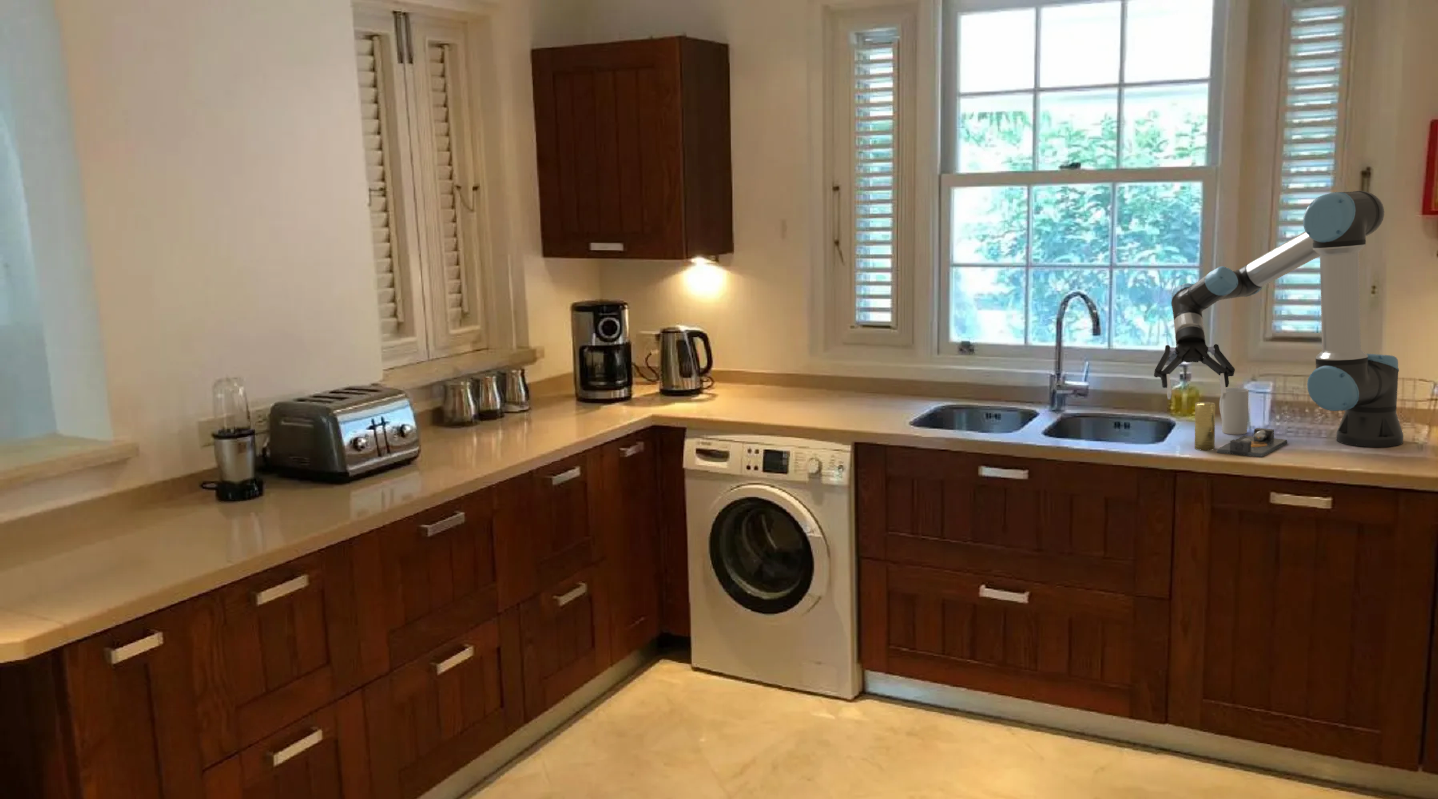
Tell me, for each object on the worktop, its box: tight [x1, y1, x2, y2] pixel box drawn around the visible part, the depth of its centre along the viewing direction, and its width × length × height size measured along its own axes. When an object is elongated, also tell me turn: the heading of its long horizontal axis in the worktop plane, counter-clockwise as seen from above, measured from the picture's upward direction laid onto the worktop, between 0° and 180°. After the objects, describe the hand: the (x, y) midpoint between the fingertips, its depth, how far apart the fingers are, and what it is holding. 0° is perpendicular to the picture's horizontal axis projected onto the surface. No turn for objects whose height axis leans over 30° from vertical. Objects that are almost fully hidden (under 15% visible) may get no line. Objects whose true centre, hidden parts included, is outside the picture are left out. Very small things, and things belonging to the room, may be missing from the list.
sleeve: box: [1194, 401, 1216, 451], centre depth 302 cm, size 5×5×12 cm
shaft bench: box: [1216, 427, 1288, 458], centre depth 301 cm, size 19×11×3 cm, turn 136°
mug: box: [1218, 387, 1250, 436], centre depth 321 cm, size 10×7×12 cm, turn 11°
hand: (1196, 396), depth 308 cm, fingers open, 13 cm apart
